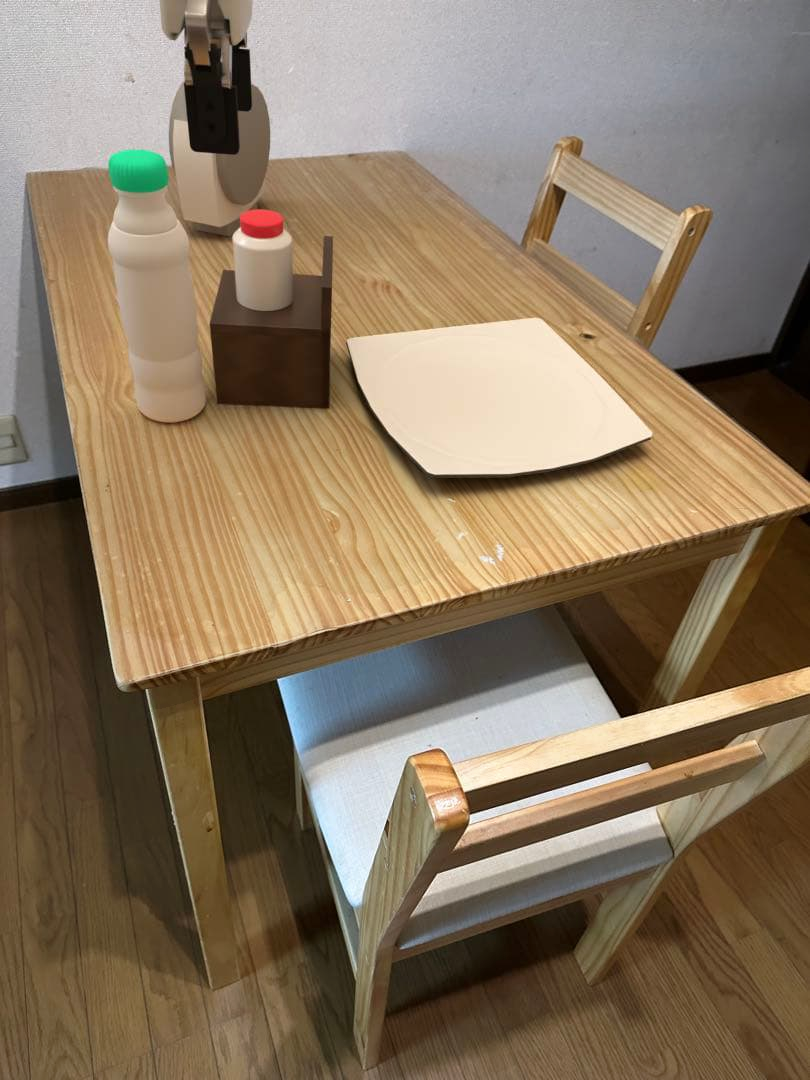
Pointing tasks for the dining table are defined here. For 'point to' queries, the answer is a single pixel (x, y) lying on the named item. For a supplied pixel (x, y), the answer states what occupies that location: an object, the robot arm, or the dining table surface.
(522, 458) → the plate
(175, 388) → the water bottle
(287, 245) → the pill bottle
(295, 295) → the wooden block chair
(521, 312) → the dining table surface
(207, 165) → the alarm clock
